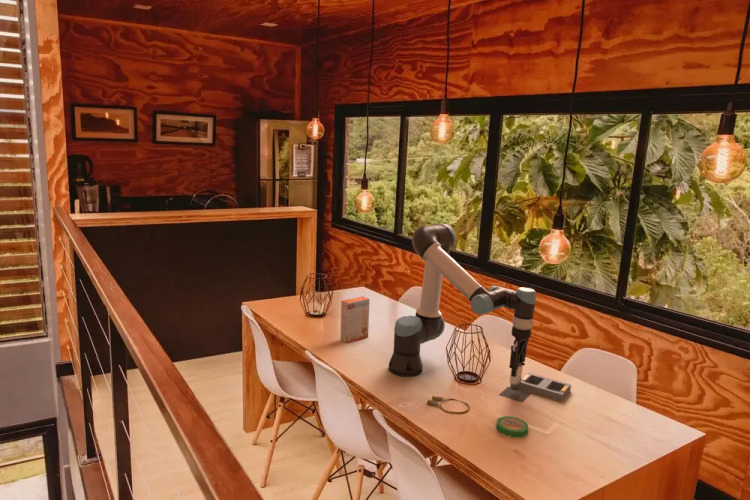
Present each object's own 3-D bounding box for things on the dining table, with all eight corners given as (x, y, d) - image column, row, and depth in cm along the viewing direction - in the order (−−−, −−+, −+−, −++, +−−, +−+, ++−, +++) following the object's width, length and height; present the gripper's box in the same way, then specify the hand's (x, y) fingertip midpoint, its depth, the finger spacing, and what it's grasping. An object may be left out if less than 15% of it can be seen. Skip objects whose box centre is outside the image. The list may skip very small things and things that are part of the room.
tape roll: (527, 425, 203) (527, 418, 203) (528, 440, 193) (529, 433, 192) (496, 420, 205) (497, 413, 205) (495, 435, 195) (496, 428, 194)
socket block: (561, 404, 220) (562, 394, 219) (517, 390, 230) (518, 381, 229) (570, 393, 230) (571, 384, 229) (527, 381, 240) (528, 372, 239)
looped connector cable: (442, 394, 225) (443, 390, 224) (475, 408, 214) (475, 404, 213) (423, 403, 216) (424, 398, 216) (456, 419, 205) (456, 414, 205)
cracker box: (361, 334, 287) (362, 295, 283) (368, 338, 282) (370, 298, 278) (339, 339, 278) (340, 299, 274) (346, 343, 274) (348, 303, 269)
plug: (517, 391, 222) (520, 365, 219) (508, 388, 224) (511, 362, 222) (521, 388, 225) (524, 362, 223) (511, 385, 227) (515, 359, 225)
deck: (522, 404, 218) (522, 402, 218) (498, 397, 224) (498, 394, 223) (531, 395, 226) (531, 393, 226) (507, 388, 232) (508, 386, 231)
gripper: (523, 334, 210) (516, 391, 215) (538, 324, 224) (531, 377, 229) (505, 329, 214) (498, 385, 219) (520, 319, 228) (513, 372, 233)
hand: (515, 381), depth 224 cm, fingers closed on plug, 3 cm apart
